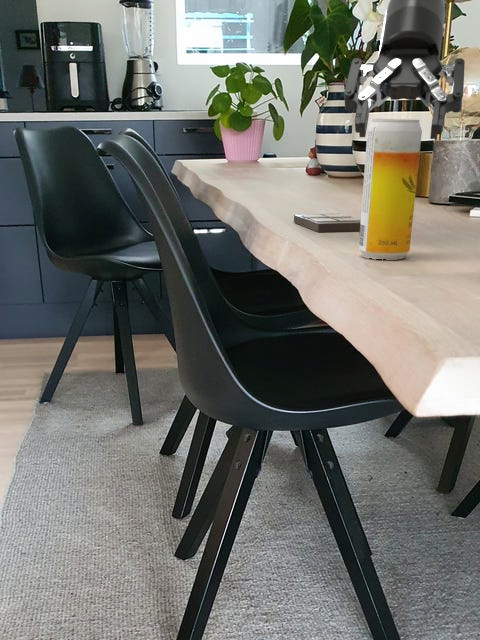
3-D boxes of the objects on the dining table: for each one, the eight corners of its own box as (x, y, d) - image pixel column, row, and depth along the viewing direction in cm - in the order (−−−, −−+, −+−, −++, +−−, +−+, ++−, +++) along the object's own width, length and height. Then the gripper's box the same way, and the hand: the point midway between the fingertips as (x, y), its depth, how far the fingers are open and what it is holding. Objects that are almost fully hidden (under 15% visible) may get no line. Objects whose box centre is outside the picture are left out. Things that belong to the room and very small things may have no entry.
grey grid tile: (293, 222, 124) (294, 213, 123) (339, 221, 126) (339, 212, 125) (318, 232, 115) (318, 222, 114) (367, 231, 116) (367, 221, 116)
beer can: (417, 259, 95) (432, 120, 88) (370, 261, 93) (382, 119, 86) (394, 251, 100) (407, 118, 93) (350, 253, 98) (359, 118, 92)
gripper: (355, 4, 99) (337, 107, 94) (474, 2, 96) (461, 109, 91) (357, 56, 106) (340, 154, 101) (467, 56, 103) (455, 157, 98)
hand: (397, 133), depth 96 cm, fingers open, 8 cm apart
